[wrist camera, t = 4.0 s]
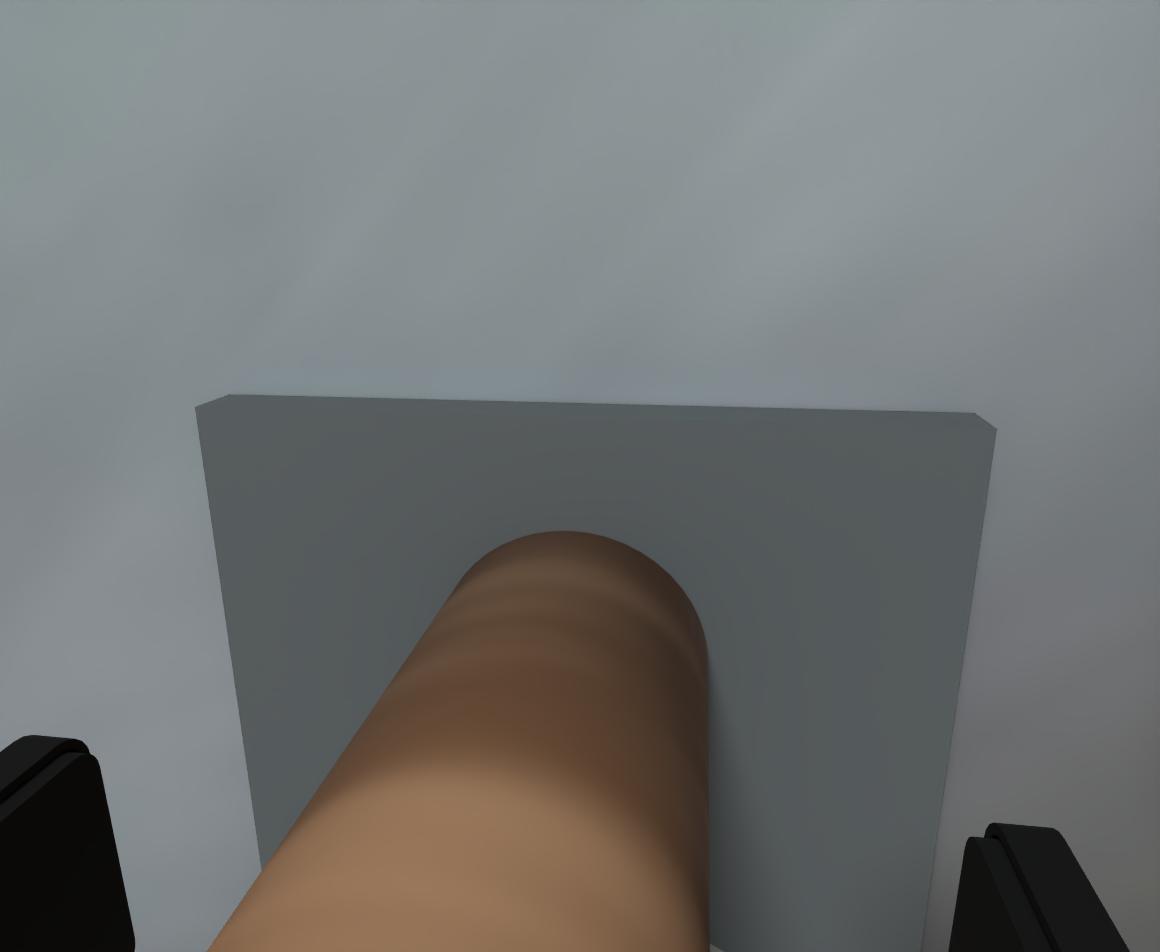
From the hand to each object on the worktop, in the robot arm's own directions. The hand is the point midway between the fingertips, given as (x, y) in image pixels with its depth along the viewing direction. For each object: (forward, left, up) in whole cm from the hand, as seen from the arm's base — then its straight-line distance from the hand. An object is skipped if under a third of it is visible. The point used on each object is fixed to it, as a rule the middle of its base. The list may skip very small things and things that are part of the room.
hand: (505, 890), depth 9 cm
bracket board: (+4, 0, -6) cm, 7 cm away
